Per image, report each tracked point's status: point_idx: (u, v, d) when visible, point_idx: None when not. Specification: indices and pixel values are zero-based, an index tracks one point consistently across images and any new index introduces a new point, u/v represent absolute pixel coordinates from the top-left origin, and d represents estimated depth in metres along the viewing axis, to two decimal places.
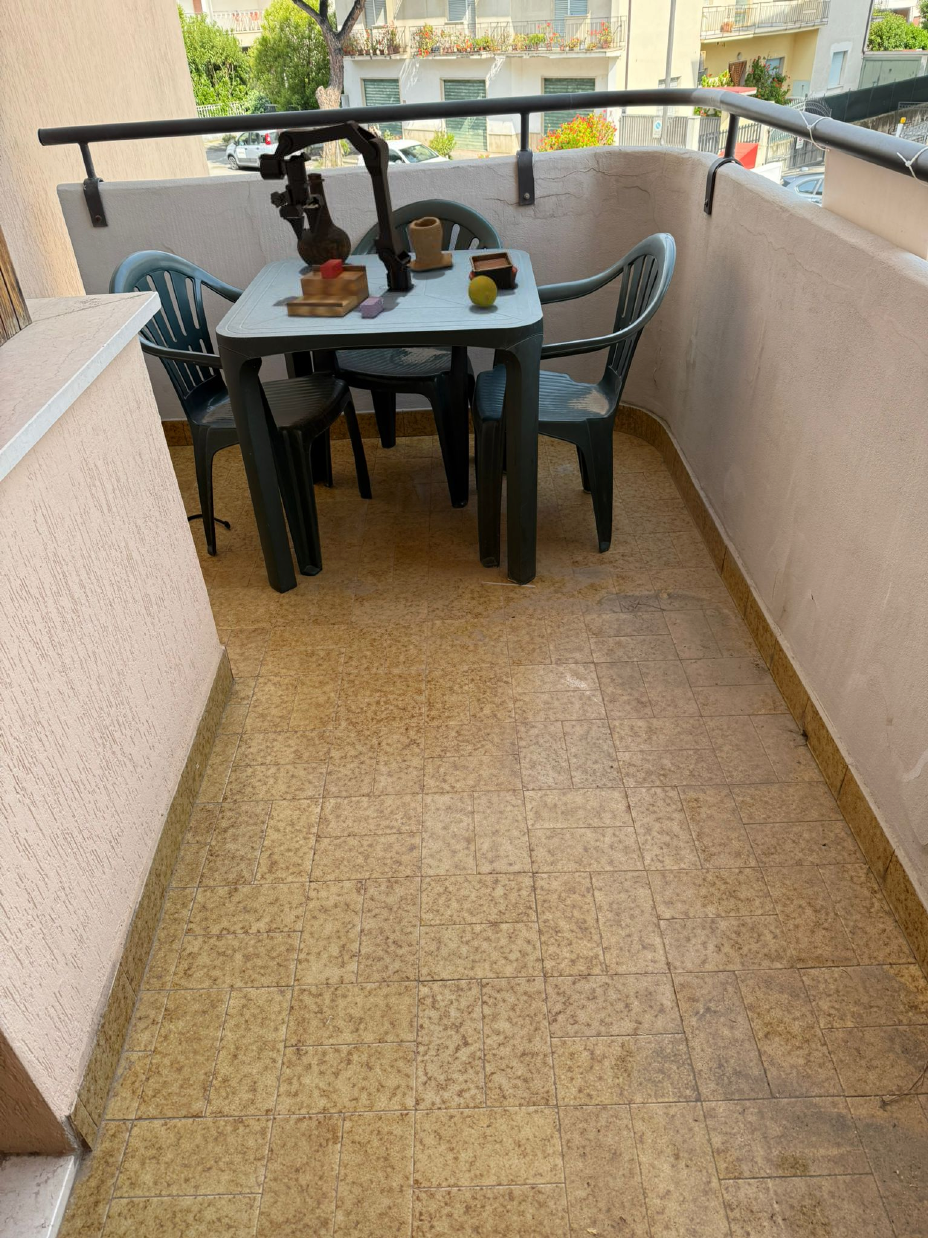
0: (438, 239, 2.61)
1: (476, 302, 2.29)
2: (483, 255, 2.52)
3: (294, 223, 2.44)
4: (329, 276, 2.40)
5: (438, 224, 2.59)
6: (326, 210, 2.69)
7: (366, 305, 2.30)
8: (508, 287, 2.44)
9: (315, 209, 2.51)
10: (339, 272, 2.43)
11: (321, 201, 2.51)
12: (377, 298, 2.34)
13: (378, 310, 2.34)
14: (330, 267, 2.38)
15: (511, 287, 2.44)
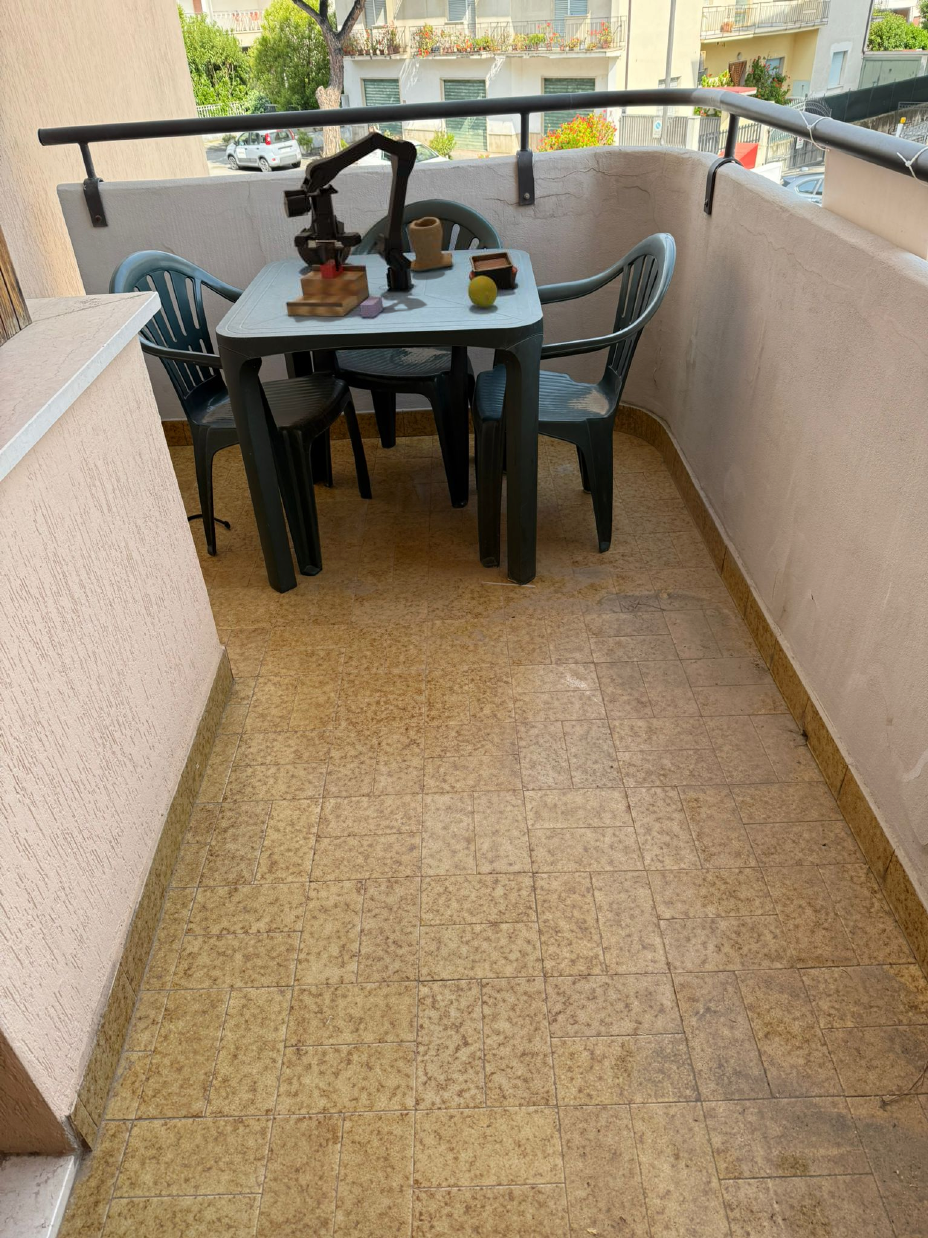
0: (438, 239, 2.61)
1: (476, 302, 2.29)
2: (483, 255, 2.52)
3: None
4: (329, 276, 2.40)
5: (438, 224, 2.59)
6: None
7: (366, 305, 2.30)
8: (508, 287, 2.44)
9: None
10: (339, 272, 2.43)
11: (347, 243, 2.34)
12: (377, 298, 2.34)
13: (378, 310, 2.34)
14: (330, 267, 2.38)
15: (511, 287, 2.44)
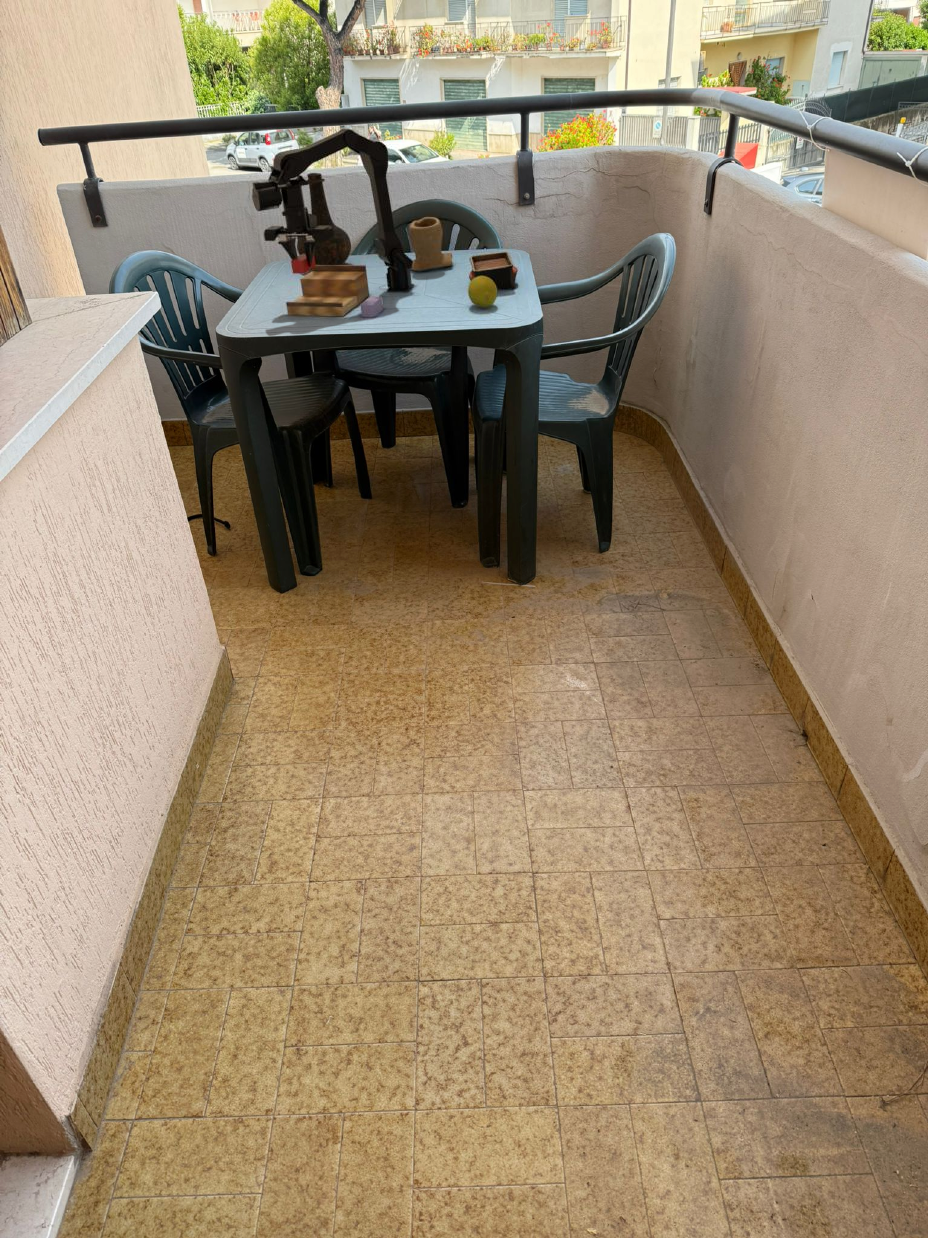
0: (438, 239, 2.61)
1: (476, 302, 2.29)
2: (483, 255, 2.52)
3: None
4: (300, 271, 2.32)
5: (438, 224, 2.59)
6: (326, 210, 2.69)
7: (366, 305, 2.30)
8: (508, 287, 2.44)
9: None
10: (311, 267, 2.36)
11: (318, 237, 2.26)
12: (377, 298, 2.34)
13: (378, 310, 2.34)
14: (301, 261, 2.31)
15: (511, 287, 2.44)
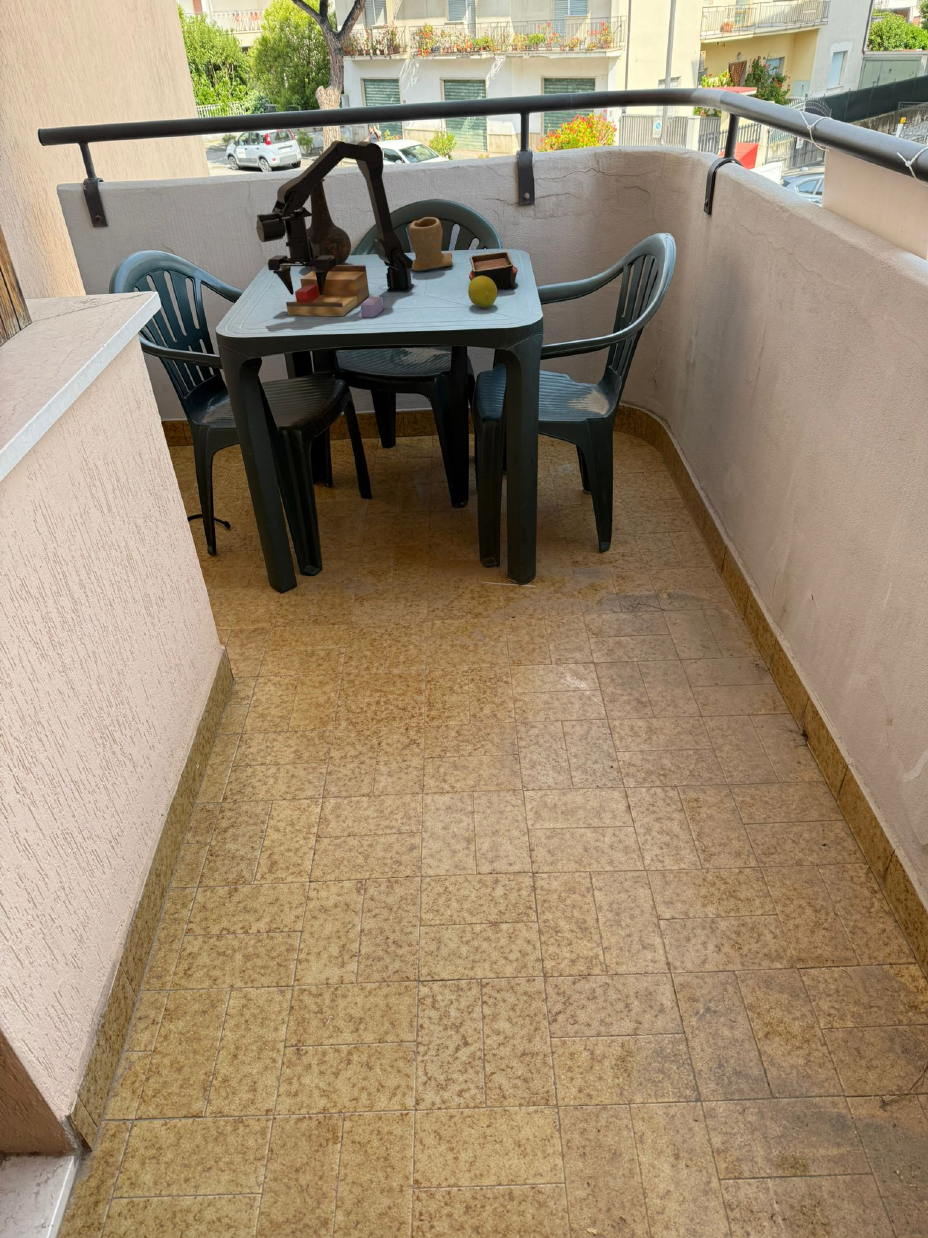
0: (438, 239, 2.61)
1: (476, 302, 2.29)
2: (483, 255, 2.52)
3: None
4: (304, 301, 2.37)
5: (438, 224, 2.59)
6: (326, 210, 2.69)
7: (366, 305, 2.30)
8: (508, 287, 2.44)
9: None
10: (315, 297, 2.40)
11: (321, 267, 2.30)
12: (377, 298, 2.34)
13: (378, 310, 2.34)
14: (305, 292, 2.35)
15: (511, 287, 2.44)
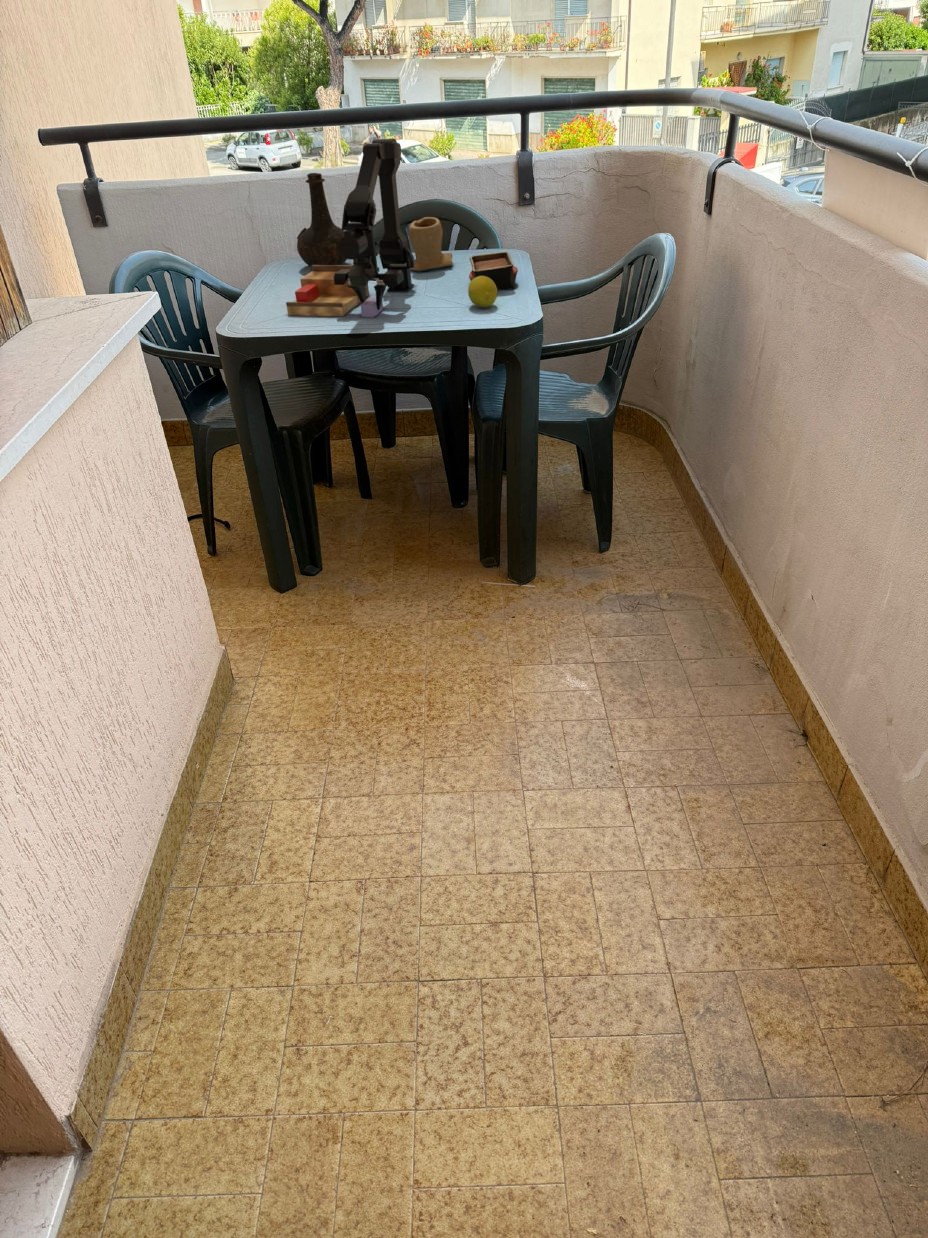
0: (438, 239, 2.61)
1: (476, 302, 2.29)
2: (483, 255, 2.52)
3: None
4: (304, 301, 2.37)
5: (438, 224, 2.59)
6: (326, 210, 2.69)
7: (366, 305, 2.30)
8: (508, 287, 2.44)
9: None
10: (315, 297, 2.40)
11: None
12: None
13: (378, 310, 2.34)
14: (305, 292, 2.35)
15: (511, 287, 2.44)
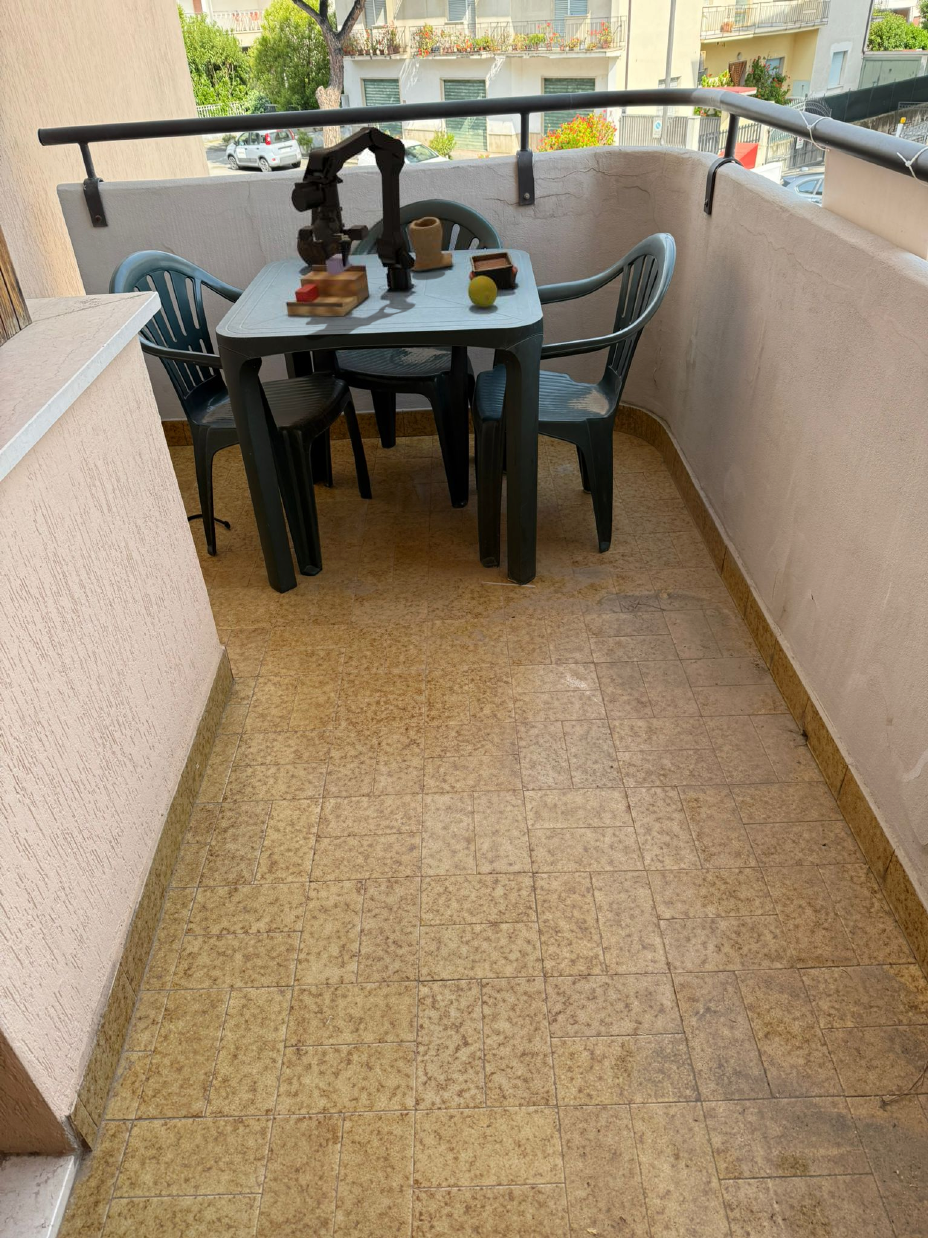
0: (438, 239, 2.61)
1: (476, 302, 2.29)
2: (483, 255, 2.52)
3: None
4: (304, 301, 2.37)
5: (438, 224, 2.59)
6: None
7: (331, 261, 2.27)
8: (508, 287, 2.44)
9: None
10: (315, 297, 2.40)
11: None
12: None
13: (344, 267, 2.31)
14: (305, 292, 2.35)
15: (511, 287, 2.44)
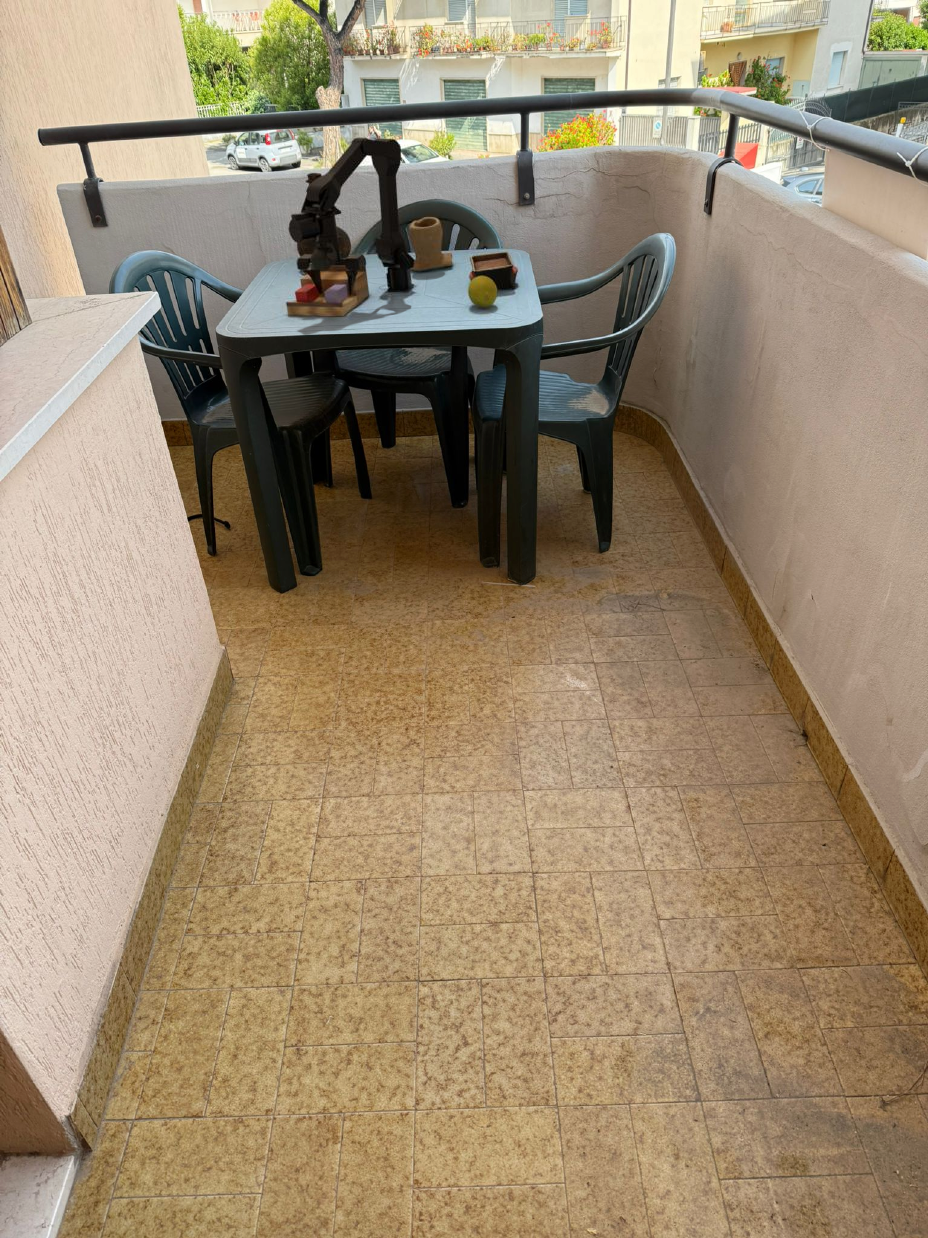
0: (438, 239, 2.61)
1: (476, 302, 2.29)
2: (483, 255, 2.52)
3: None
4: (304, 301, 2.37)
5: (438, 224, 2.59)
6: None
7: (330, 292, 2.33)
8: (508, 287, 2.44)
9: None
10: (315, 297, 2.40)
11: None
12: (341, 286, 2.37)
13: (342, 298, 2.37)
14: (305, 292, 2.35)
15: (511, 287, 2.44)
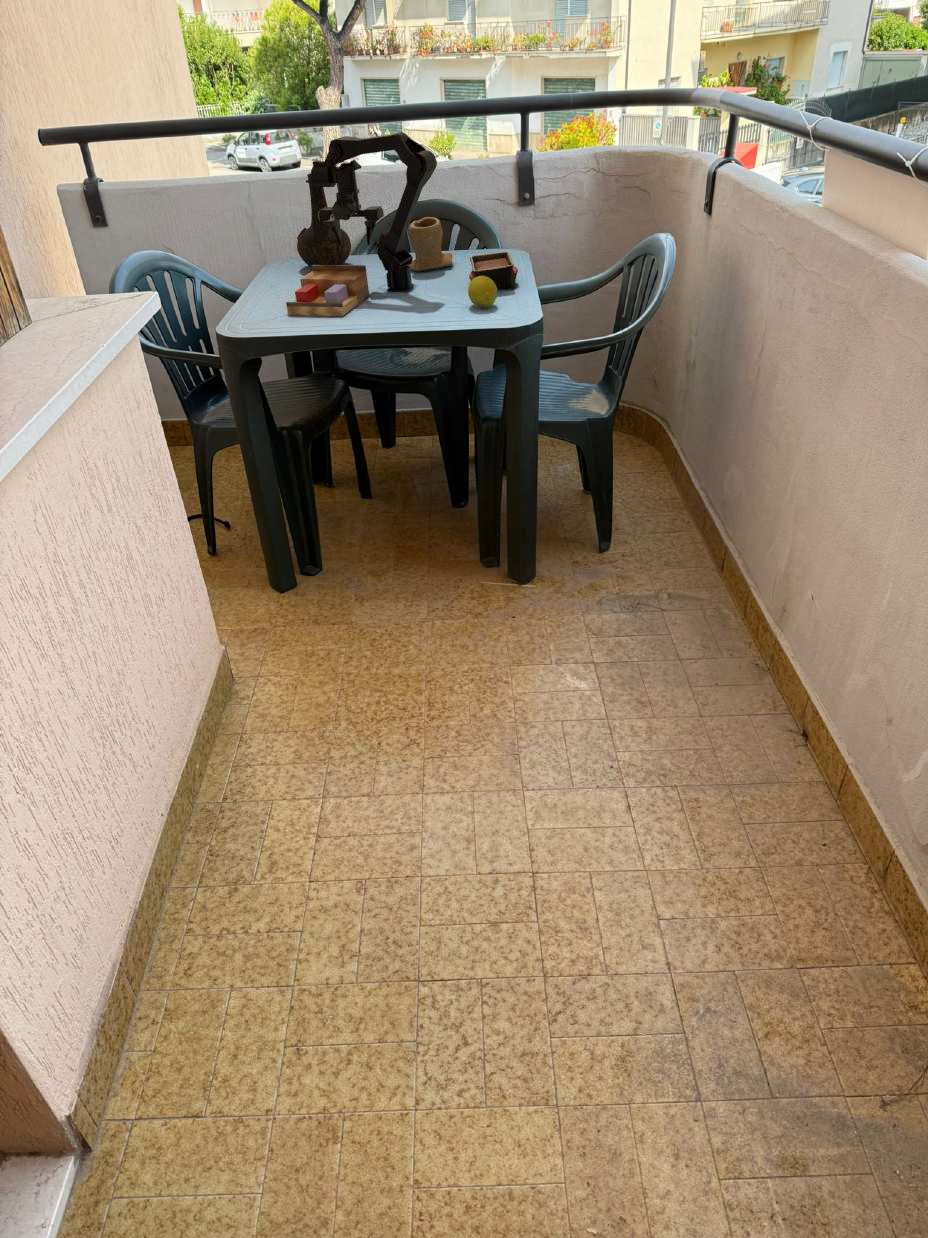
0: (438, 239, 2.61)
1: (476, 302, 2.29)
2: (483, 255, 2.52)
3: None
4: (304, 301, 2.37)
5: (438, 224, 2.59)
6: None
7: (330, 292, 2.33)
8: (508, 287, 2.44)
9: (338, 219, 2.50)
10: (315, 297, 2.40)
11: None
12: (341, 286, 2.37)
13: (342, 298, 2.37)
14: (305, 292, 2.35)
15: (511, 287, 2.44)
